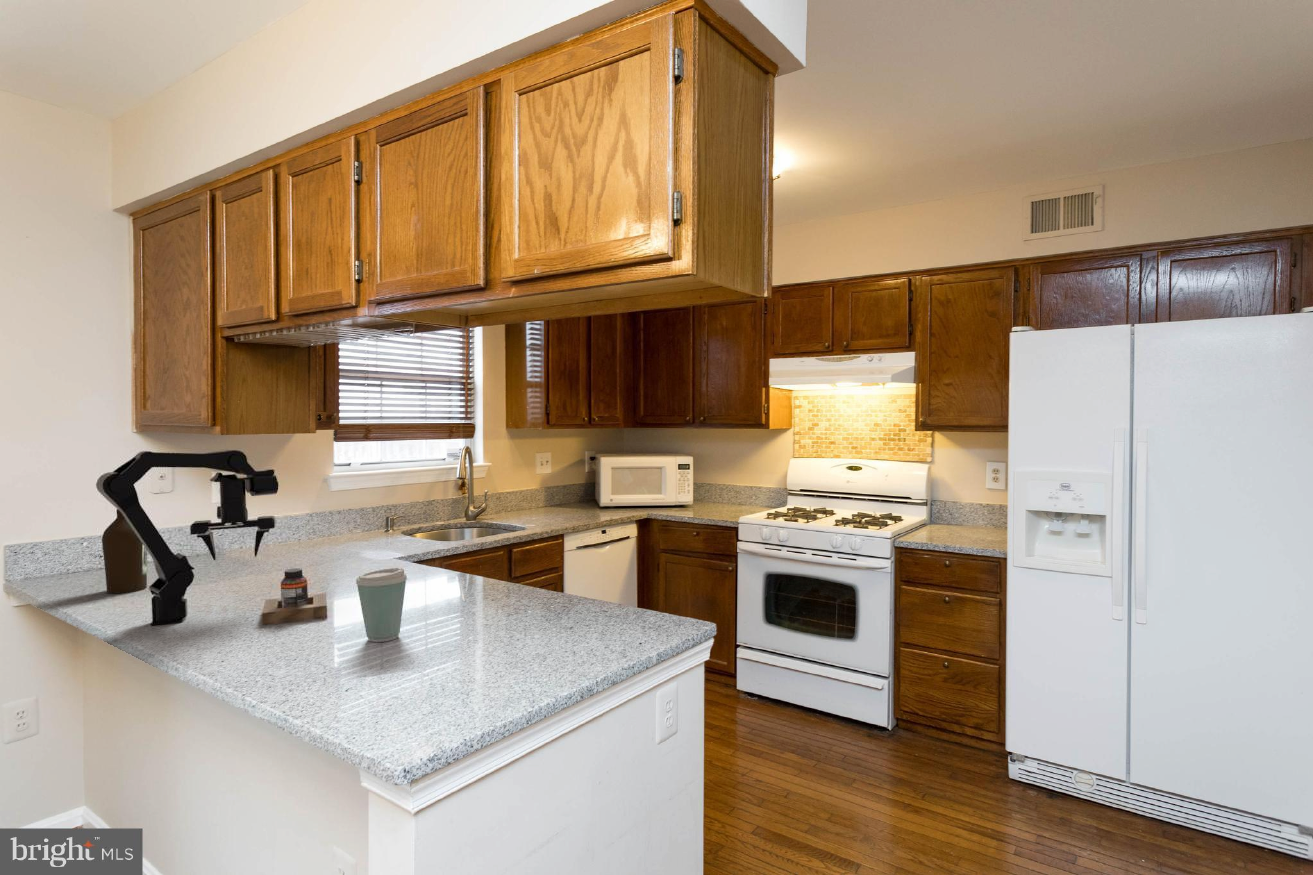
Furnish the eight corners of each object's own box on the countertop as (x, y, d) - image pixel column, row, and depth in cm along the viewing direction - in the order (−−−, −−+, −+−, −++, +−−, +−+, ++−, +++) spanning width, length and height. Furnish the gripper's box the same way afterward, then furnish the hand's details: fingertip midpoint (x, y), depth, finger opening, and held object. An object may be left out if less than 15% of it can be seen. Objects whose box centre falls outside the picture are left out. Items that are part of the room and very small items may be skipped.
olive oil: (105, 596, 203) (101, 507, 202) (103, 589, 211) (99, 504, 210) (151, 590, 209) (147, 504, 209) (147, 583, 218) (144, 501, 217)
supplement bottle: (293, 610, 184) (291, 566, 184) (313, 611, 183) (312, 567, 182) (276, 617, 178) (274, 572, 178) (297, 618, 177) (295, 572, 177)
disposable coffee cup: (354, 647, 154) (352, 577, 153) (360, 633, 164) (358, 567, 163) (407, 642, 157) (405, 573, 156) (409, 628, 167) (407, 564, 166)
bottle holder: (262, 625, 171) (261, 613, 171) (265, 611, 184) (265, 599, 184) (327, 617, 177) (326, 605, 177) (326, 604, 190) (326, 592, 190)
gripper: (275, 492, 198) (277, 549, 199) (195, 497, 191) (197, 556, 191) (273, 496, 188) (275, 556, 189) (188, 501, 180) (191, 564, 181)
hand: (235, 557), depth 188 cm, fingers open, 9 cm apart
